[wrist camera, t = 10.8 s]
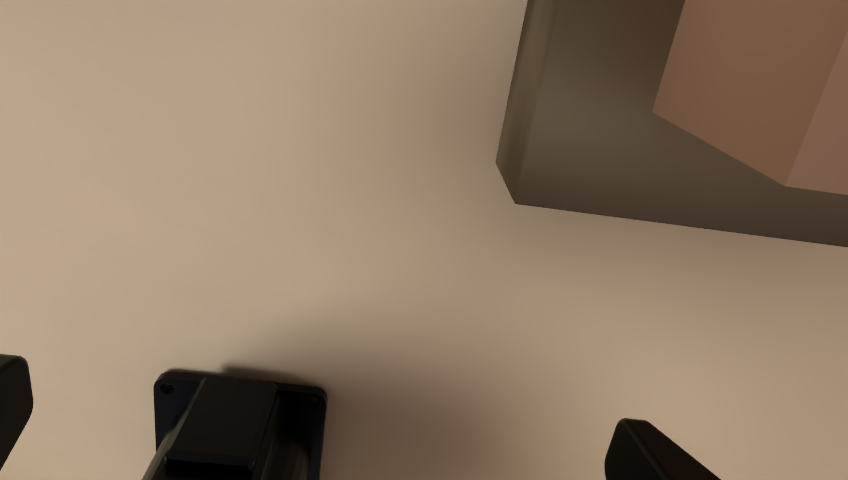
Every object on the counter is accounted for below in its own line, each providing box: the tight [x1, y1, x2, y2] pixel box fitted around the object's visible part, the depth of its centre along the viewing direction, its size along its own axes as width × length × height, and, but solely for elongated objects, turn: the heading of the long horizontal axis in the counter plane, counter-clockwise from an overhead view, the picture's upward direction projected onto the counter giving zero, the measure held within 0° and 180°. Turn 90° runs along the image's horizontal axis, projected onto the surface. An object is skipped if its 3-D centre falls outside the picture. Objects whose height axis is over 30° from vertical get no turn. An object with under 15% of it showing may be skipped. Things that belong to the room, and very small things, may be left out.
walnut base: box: [496, 0, 848, 247], centre depth 16 cm, size 12×12×4 cm
